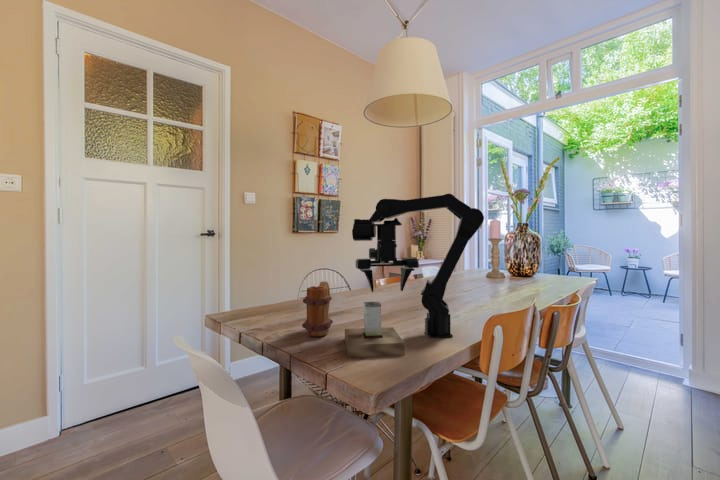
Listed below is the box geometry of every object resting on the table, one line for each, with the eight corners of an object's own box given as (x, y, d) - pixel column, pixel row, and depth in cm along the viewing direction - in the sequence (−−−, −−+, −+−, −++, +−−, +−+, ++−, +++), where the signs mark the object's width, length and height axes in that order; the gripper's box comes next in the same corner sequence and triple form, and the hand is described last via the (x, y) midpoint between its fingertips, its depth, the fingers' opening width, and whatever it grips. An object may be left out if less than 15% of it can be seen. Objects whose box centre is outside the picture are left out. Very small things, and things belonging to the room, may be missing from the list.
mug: (325, 340, 92) (325, 287, 92) (298, 338, 94) (298, 286, 94) (339, 326, 107) (339, 280, 107) (315, 325, 108) (315, 279, 108)
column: (378, 330, 89) (378, 301, 89) (381, 335, 85) (381, 304, 85) (364, 331, 89) (363, 301, 89) (365, 335, 85) (365, 305, 85)
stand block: (392, 337, 95) (392, 325, 95) (404, 354, 81) (404, 340, 81) (344, 339, 93) (344, 327, 93) (348, 357, 79) (348, 343, 79)
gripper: (408, 240, 110) (408, 286, 110) (353, 240, 107) (353, 288, 107) (419, 240, 99) (419, 291, 99) (357, 241, 96) (358, 294, 96)
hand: (387, 291), depth 100 cm, fingers open, 9 cm apart
